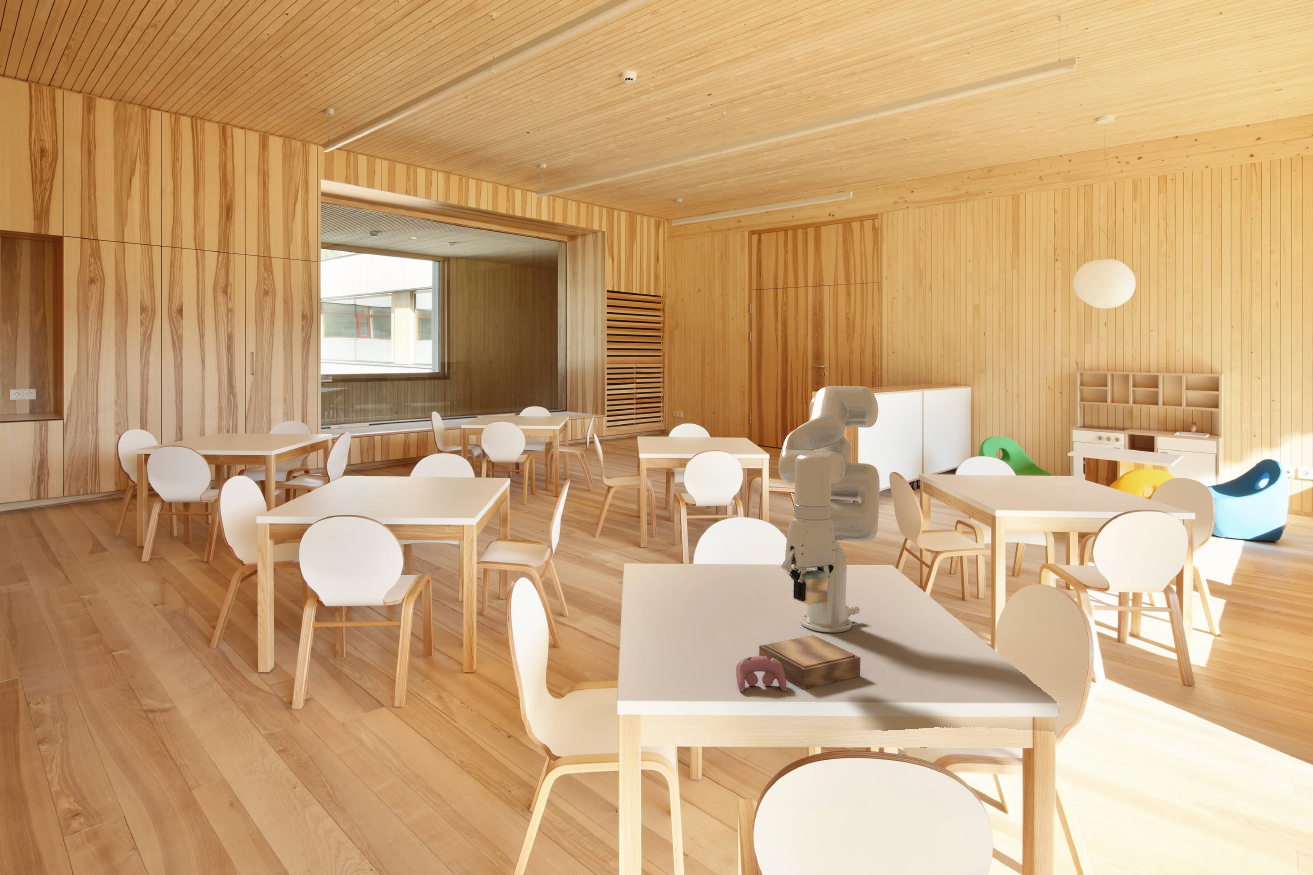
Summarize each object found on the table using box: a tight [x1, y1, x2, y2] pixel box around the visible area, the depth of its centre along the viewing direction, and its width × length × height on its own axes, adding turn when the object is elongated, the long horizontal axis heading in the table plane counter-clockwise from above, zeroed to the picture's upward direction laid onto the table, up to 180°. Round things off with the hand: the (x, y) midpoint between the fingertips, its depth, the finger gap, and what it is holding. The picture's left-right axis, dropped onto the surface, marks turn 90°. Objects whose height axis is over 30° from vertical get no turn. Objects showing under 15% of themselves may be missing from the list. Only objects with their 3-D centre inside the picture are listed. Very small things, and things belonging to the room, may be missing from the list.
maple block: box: [792, 568, 828, 606], centre depth 152 cm, size 5×5×6 cm
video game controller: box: [735, 655, 787, 693], centre depth 145 cm, size 10×5×7 cm, turn 93°
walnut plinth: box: [758, 634, 862, 690], centre depth 154 cm, size 15×15×4 cm
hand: (810, 597), depth 153 cm, fingers closed on maple block, 5 cm apart
